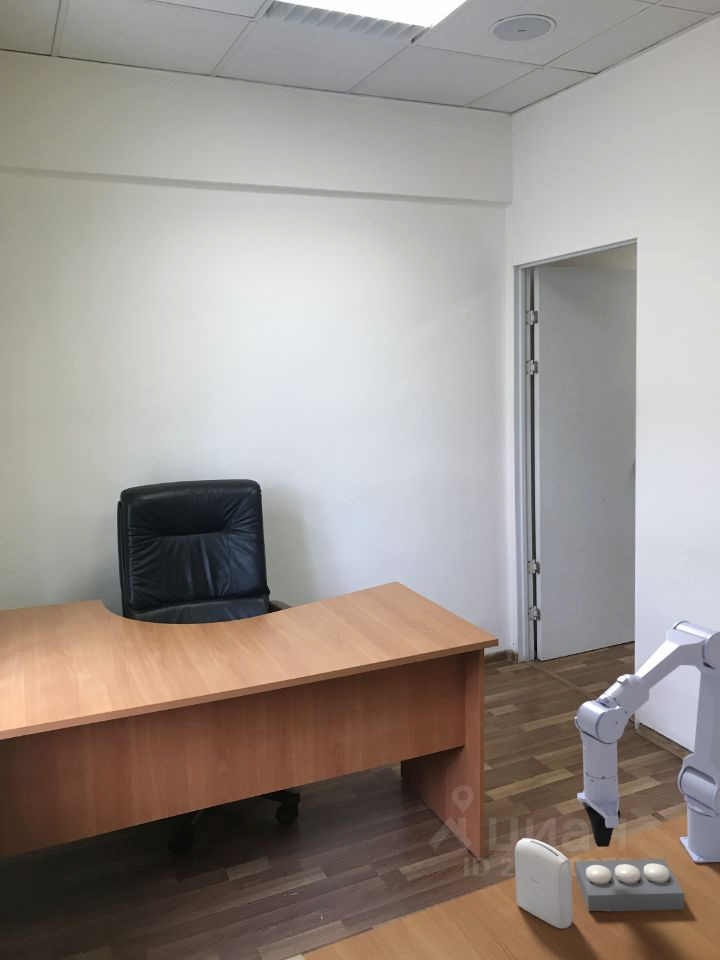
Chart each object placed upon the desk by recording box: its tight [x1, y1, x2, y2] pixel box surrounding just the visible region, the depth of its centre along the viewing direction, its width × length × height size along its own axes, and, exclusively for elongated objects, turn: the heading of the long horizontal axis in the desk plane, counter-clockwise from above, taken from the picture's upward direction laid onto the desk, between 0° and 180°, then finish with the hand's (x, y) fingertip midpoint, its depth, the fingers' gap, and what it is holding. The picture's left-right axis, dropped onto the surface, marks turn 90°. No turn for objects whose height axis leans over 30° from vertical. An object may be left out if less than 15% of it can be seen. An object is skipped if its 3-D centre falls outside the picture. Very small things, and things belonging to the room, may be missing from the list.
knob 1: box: [586, 865, 611, 885], centre depth 143 cm, size 4×4×4 cm
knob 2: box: [644, 863, 669, 883], centre depth 142 cm, size 4×4×4 cm
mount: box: [574, 858, 685, 912], centre depth 143 cm, size 16×10×3 cm, turn 88°
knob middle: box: [615, 864, 640, 884], centre depth 143 cm, size 4×4×4 cm
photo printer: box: [514, 837, 574, 930], centre depth 138 cm, size 10×4×12 cm, turn 39°
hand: (602, 844), depth 143 cm, fingers closed
